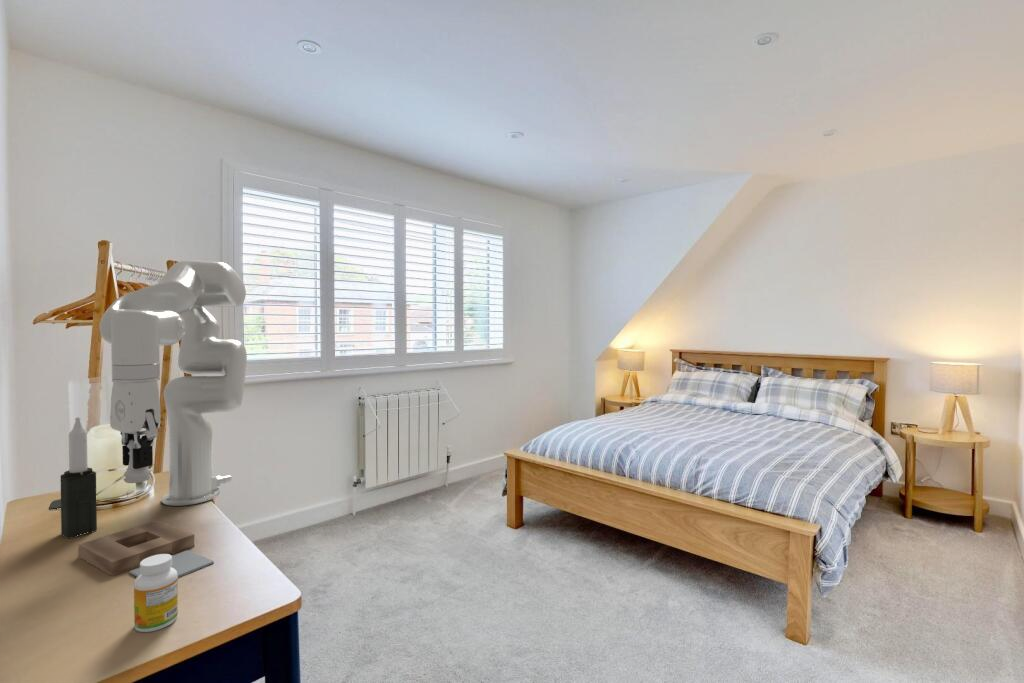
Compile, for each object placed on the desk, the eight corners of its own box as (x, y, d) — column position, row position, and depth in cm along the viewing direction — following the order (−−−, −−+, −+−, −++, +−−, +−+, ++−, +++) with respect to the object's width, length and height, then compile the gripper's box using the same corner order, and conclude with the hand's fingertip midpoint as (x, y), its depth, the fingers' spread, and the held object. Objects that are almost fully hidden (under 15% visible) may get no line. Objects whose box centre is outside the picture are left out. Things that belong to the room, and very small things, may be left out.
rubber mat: (188, 552, 99) (188, 550, 99) (213, 563, 94) (213, 561, 94) (129, 573, 90) (129, 571, 90) (154, 586, 86) (154, 584, 86)
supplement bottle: (135, 619, 76) (134, 557, 76) (177, 608, 79) (177, 548, 79) (133, 637, 72) (132, 571, 72) (178, 625, 75) (177, 561, 75)
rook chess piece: (136, 484, 96) (135, 443, 95) (117, 482, 97) (116, 442, 96) (157, 477, 100) (156, 438, 100) (138, 475, 101) (138, 436, 101)
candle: (68, 539, 104) (66, 420, 103) (59, 533, 106) (57, 417, 106) (98, 530, 108) (97, 416, 107) (89, 525, 111) (87, 414, 110)
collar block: (159, 531, 108) (158, 520, 108) (194, 546, 101) (194, 534, 101) (78, 557, 96) (78, 544, 96) (112, 576, 89) (112, 562, 89)
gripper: (94, 372, 98) (95, 463, 99) (134, 378, 90) (136, 477, 91) (137, 369, 105) (138, 455, 106) (179, 374, 97) (180, 467, 98)
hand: (137, 464), depth 98 cm, fingers closed on rook chess piece, 3 cm apart
